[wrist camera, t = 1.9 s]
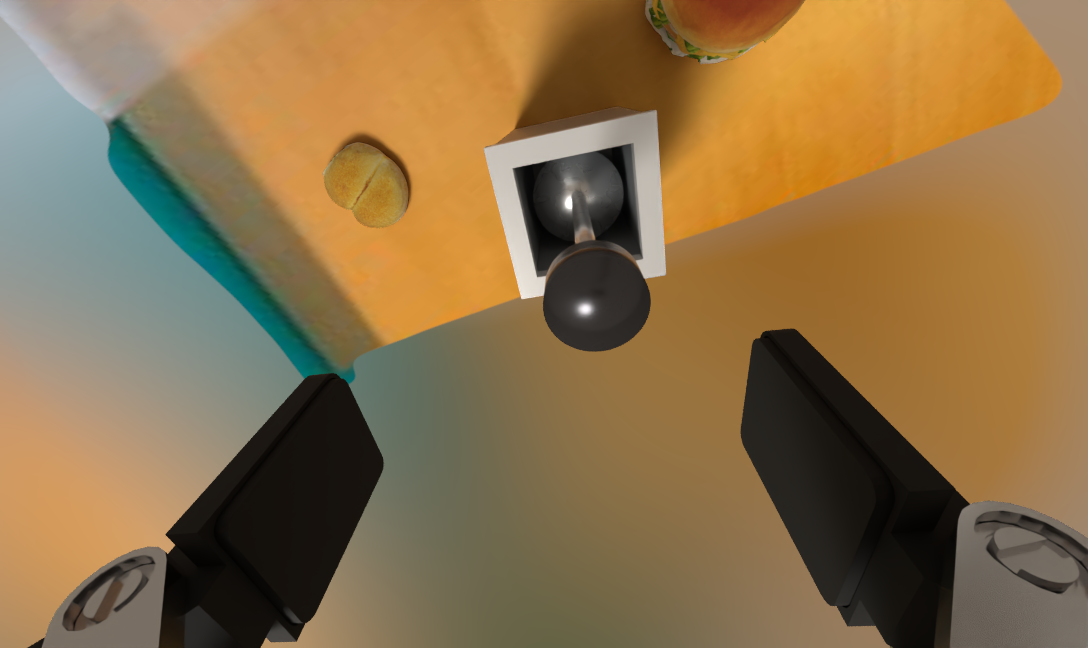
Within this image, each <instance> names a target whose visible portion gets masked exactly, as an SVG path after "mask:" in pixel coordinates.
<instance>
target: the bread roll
mask: <svg viewBox="0 0 1088 648" xmlns="http://www.w3.org/2000/svg"><path fill="white" fill-rule="evenodd" d="M323 175H324V183H325V187H326V190H327V193H328V195H329V196H330V198H331V199H332V200H333V201H334V202H335V203H336V204H337V205H339V206H340V207H342V208H345V209H348V210H352V212H353V214H354V216H355V218H356V219H357V221H358V222H360V223H361V224H362V225H364V226H367V227H370V228H384V227H387V226H390V225H392V224H394V223H396V222H397V221H399V220H400V218H401V217H402V216H403V215H404V213H405V211H406V209H407V204H408V186H407V182H406V179H405V177H404V175H403V173H402V172H401V170H400V168H399V167H398V166H397V165H396V163H395V162H394V161H392V160H391V159H390V158H388V157H387V156H385V154H383V153H382V152H381V151H380V150H379V149H377V148H375V147H373V146H371V145H368V144H364V143H361V142H356V143H352V144H350V145H346V146H345V148H344V149H343V150H342V151H340V152H339V153H337V154H336V156H334V157H333V160H332V161H331V162H330V163H329V165H328V166H327V167H326V169H325V170H324V172H323Z"/></svg>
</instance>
